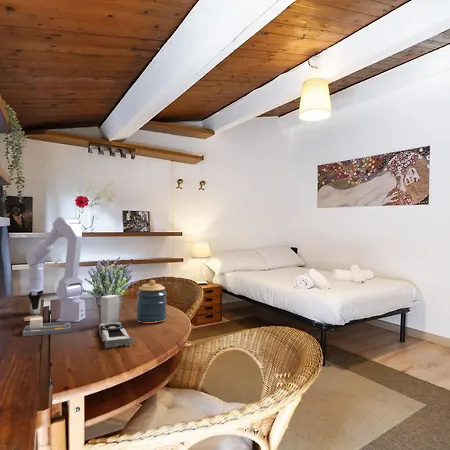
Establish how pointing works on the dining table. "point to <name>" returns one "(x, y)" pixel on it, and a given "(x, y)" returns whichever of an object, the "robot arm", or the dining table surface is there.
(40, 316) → the coaster
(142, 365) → the dining table surface
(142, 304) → the canister
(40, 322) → the switch tab
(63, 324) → the switch panel
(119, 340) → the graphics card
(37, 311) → the clear grey cup
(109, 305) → the skincare box
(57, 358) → the dining table surface
